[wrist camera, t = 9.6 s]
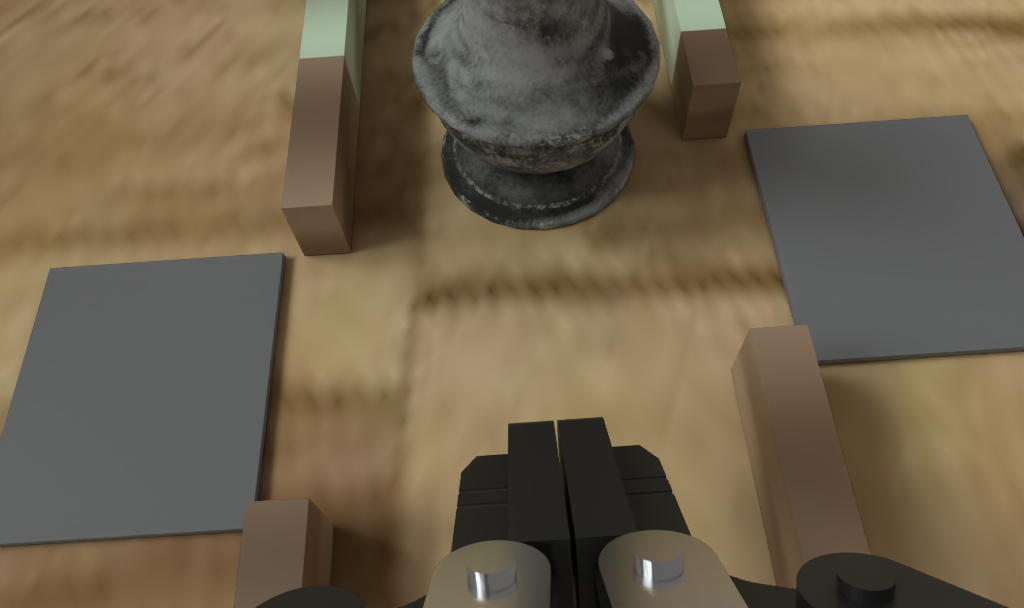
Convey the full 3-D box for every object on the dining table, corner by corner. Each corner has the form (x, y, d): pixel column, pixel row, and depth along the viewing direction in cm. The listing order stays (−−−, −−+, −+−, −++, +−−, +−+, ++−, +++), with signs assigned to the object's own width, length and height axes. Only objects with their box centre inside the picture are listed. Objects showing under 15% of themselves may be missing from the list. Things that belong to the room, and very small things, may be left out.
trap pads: (1125, 475, 17) (1132, 472, 16) (-25, 548, 17) (-31, 546, 17) (963, 120, 22) (967, 114, 21) (80, 181, 22) (76, 177, 22)
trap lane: (853, 648, 15) (915, 624, 13) (262, 684, 15) (203, 668, 13) (675, -68, 26) (688, -159, 24) (333, -44, 26) (309, -131, 24)
